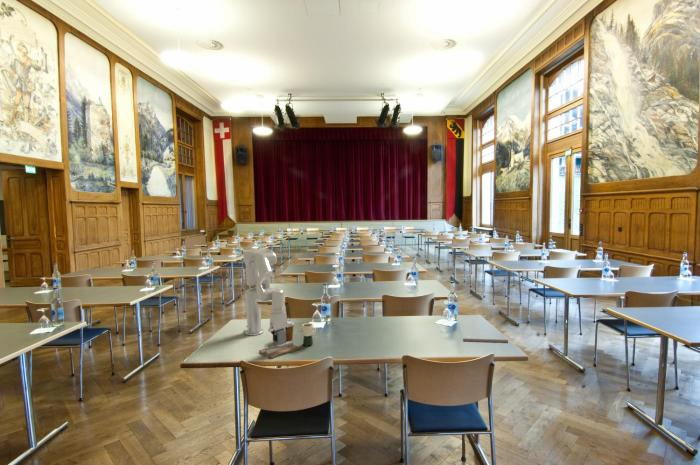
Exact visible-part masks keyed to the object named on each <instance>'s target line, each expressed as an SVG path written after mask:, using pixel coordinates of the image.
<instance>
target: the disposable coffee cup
mask: <svg viewBox="0 0 700 465" xmlns="http://www.w3.org/2000/svg"><path fill="white" fill-rule="evenodd" d="M287 323H288V324H289V325H290V326H289V327H288V328H287V330H286V342H289V341H291V342H292V340H293V336H294V325H295V322H294V320H291V319H287Z"/></svg>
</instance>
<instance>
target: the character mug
mask: <svg viewBox="0 0 700 465" xmlns="http://www.w3.org/2000/svg"><path fill="white" fill-rule="evenodd" d="M298 330H299V333H301V335H302V336H303V341H302V342H303V343H302V344H303V345H304V346H306V347H307V346H312V345H313V344H314V341H313V335H314V334H315V333H317V328H316V327H314V324H313V323H310V322H305V323H303V324H301V326H300V327H299V328H298Z"/></svg>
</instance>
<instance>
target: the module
mask: <svg viewBox="0 0 700 465" xmlns="http://www.w3.org/2000/svg"><path fill="white" fill-rule="evenodd" d="M272 331H273V329H272ZM276 335H277V342H276V341H274V340H273V339H272V343H273V344H274V343H277V345H281V344H284V343H286V342H287V341H286V330H284V329H279V330H277V333H276Z"/></svg>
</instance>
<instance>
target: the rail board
mask: <svg viewBox="0 0 700 465" xmlns="http://www.w3.org/2000/svg"><path fill="white" fill-rule="evenodd" d="M298 350H300V346H298V345H295V344H294V341H292V340H291V341H286V343H284V344H281V345H278V344H275V345H272V346H268V347H265V348H263V349H259V350H258V352H259V354H262V355H263V356H265V357H267V358H270V359H271V360H272V359H276V358H278V357H280V356H284V355H287V354H290V353H293V352H296V351H298Z"/></svg>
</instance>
